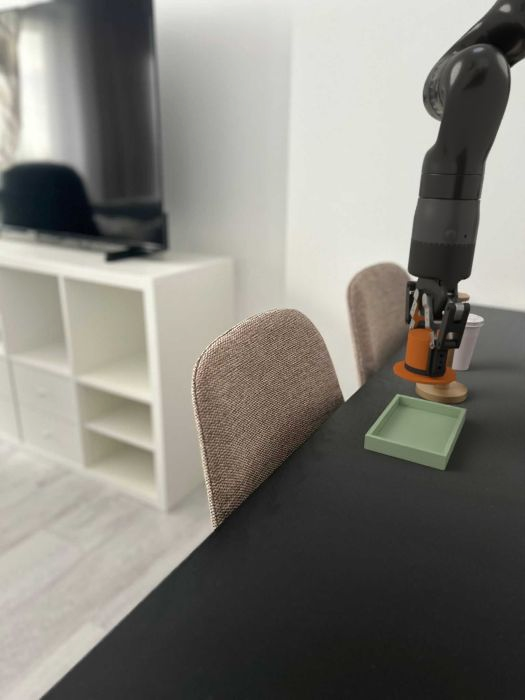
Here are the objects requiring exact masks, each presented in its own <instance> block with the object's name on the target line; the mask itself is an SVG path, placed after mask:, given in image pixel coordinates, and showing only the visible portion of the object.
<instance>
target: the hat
mask: <svg viewBox="0 0 525 700" xmlns="http://www.w3.org/2000/svg"><path fill="white" fill-rule="evenodd" d="M438 334H439V330H437V338H438ZM429 348H430V342H429V331H428V330H426V329H413V330H410V331H409V330H408V335H407V343H406V352H405V359H404V360H401V361H398V362H395V364H394V365H393V367H392V368H393V373H394V374H395V375H396V376H398V377H399V378H401V379H403V380H405V381H408V382H411V383H415V384H416V383H420V384H427V385H443V384H448V383H451V382H453V381H456V380H457V372H456V370H454V369H451V368H449V367H447V366H446V368H445V374H444V376H442V377H429V376H428V375H427V374H426V366H427V359H428V352H429ZM448 352H449V350H448ZM447 358H448V355H447ZM446 365H447V362H446Z"/></svg>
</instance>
